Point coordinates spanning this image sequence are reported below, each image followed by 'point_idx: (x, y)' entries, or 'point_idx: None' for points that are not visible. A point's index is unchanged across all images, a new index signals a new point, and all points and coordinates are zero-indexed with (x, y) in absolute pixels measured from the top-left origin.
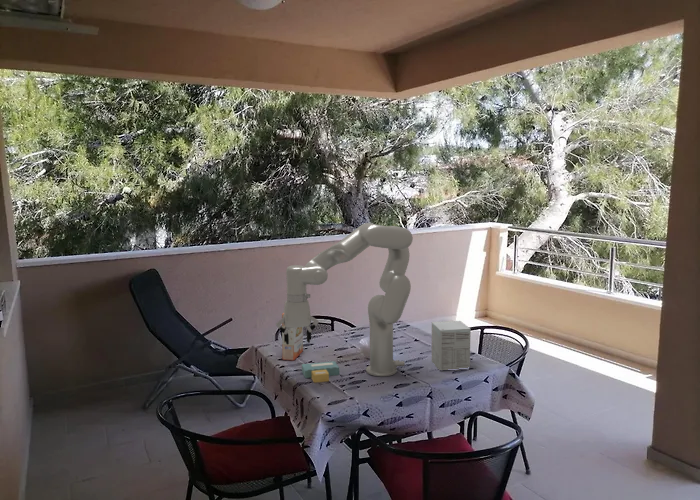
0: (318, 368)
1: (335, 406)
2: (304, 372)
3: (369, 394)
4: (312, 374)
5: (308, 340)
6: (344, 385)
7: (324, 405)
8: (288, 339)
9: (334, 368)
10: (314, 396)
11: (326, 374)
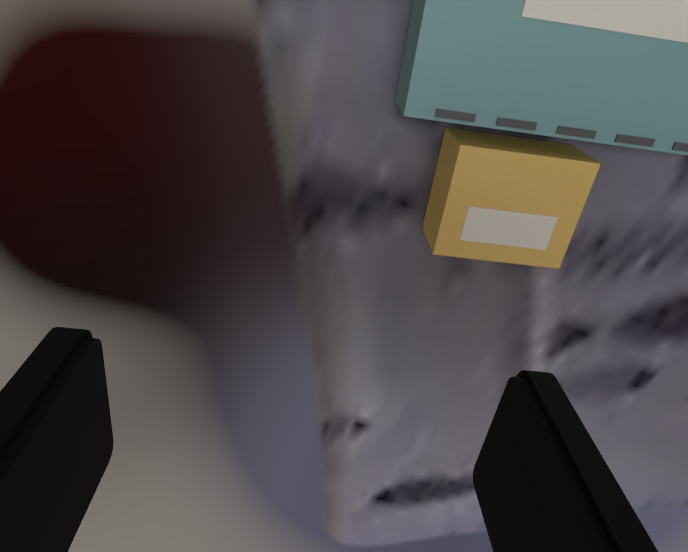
0: (553, 102)
1: (397, 522)
2: (405, 82)
3: (617, 472)
4: (443, 192)
5: (489, 518)
6: (583, 338)
7: (354, 503)
8: (71, 536)
9: (685, 154)
10: (344, 411)
11: (538, 263)
